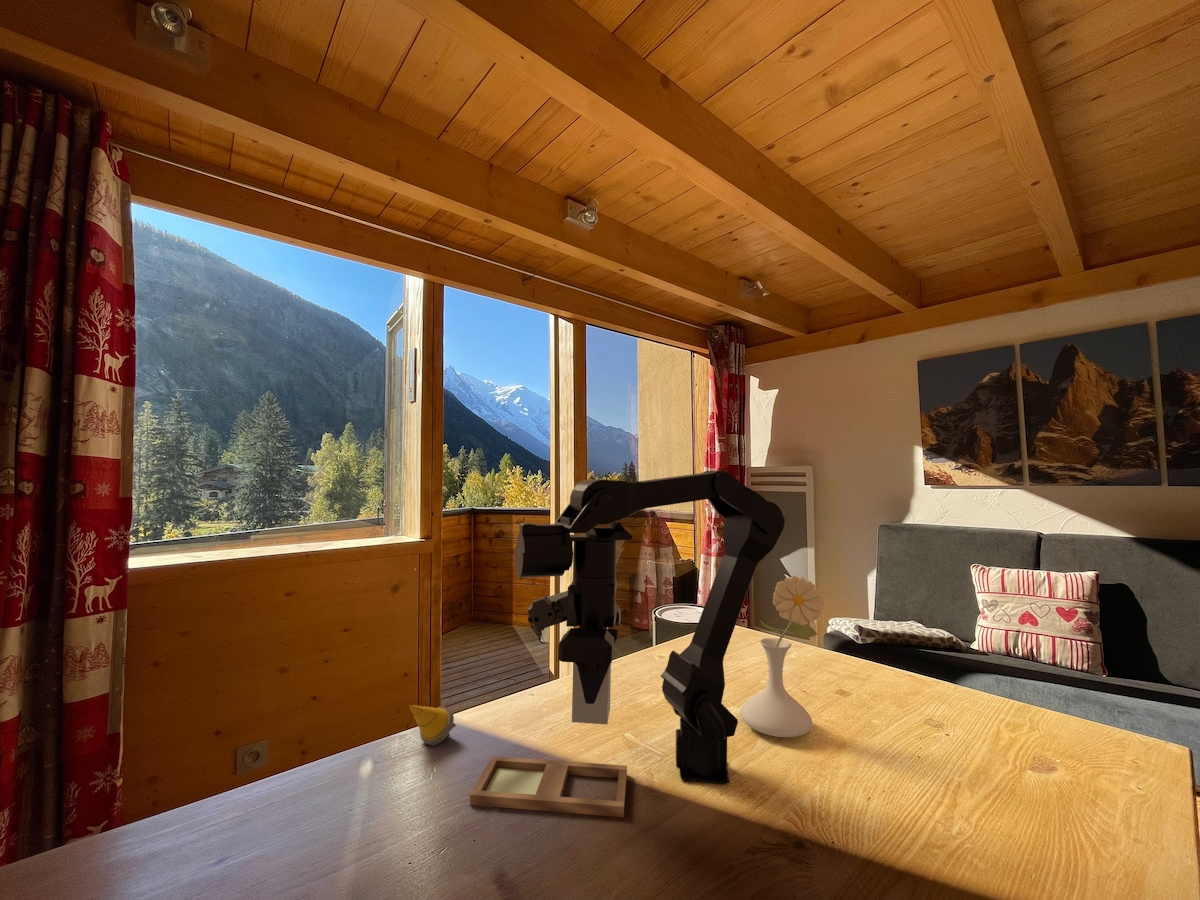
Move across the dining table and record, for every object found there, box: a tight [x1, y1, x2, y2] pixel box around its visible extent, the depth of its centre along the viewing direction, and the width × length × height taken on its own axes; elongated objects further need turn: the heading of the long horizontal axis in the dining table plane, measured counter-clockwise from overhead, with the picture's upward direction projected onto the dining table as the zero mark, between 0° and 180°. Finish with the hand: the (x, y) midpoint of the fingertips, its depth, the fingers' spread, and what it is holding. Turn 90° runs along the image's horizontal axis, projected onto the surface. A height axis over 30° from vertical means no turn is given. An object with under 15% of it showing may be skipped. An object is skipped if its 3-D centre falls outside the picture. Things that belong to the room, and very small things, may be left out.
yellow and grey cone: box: [408, 704, 457, 746], centre depth 79 cm, size 5×5×10 cm
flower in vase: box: [739, 575, 824, 738], centre depth 86 cm, size 13×11×25 cm
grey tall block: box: [571, 662, 612, 725], centre depth 68 cm, size 4×4×9 cm
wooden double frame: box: [469, 755, 628, 818], centre depth 68 cm, size 19×9×1 cm, turn 85°
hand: (592, 695), depth 68 cm, fingers closed on grey tall block, 4 cm apart
